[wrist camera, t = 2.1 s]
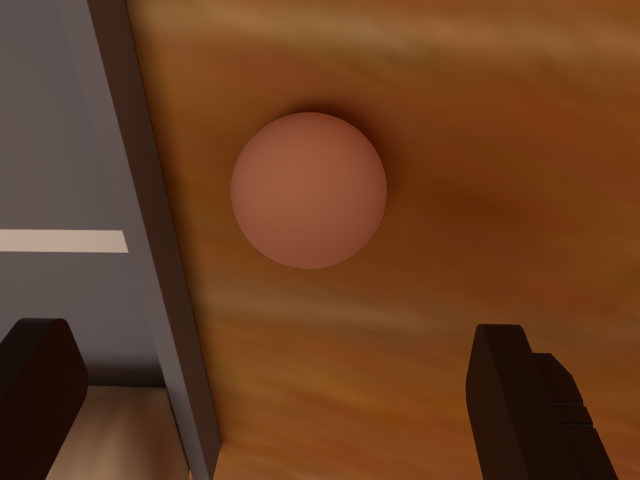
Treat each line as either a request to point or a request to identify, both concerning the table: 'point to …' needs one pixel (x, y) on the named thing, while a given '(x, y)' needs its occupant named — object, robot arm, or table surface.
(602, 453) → the robot arm
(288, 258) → the ball
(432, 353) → the table surface
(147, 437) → the log roller
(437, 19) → the table surface
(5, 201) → the runway
